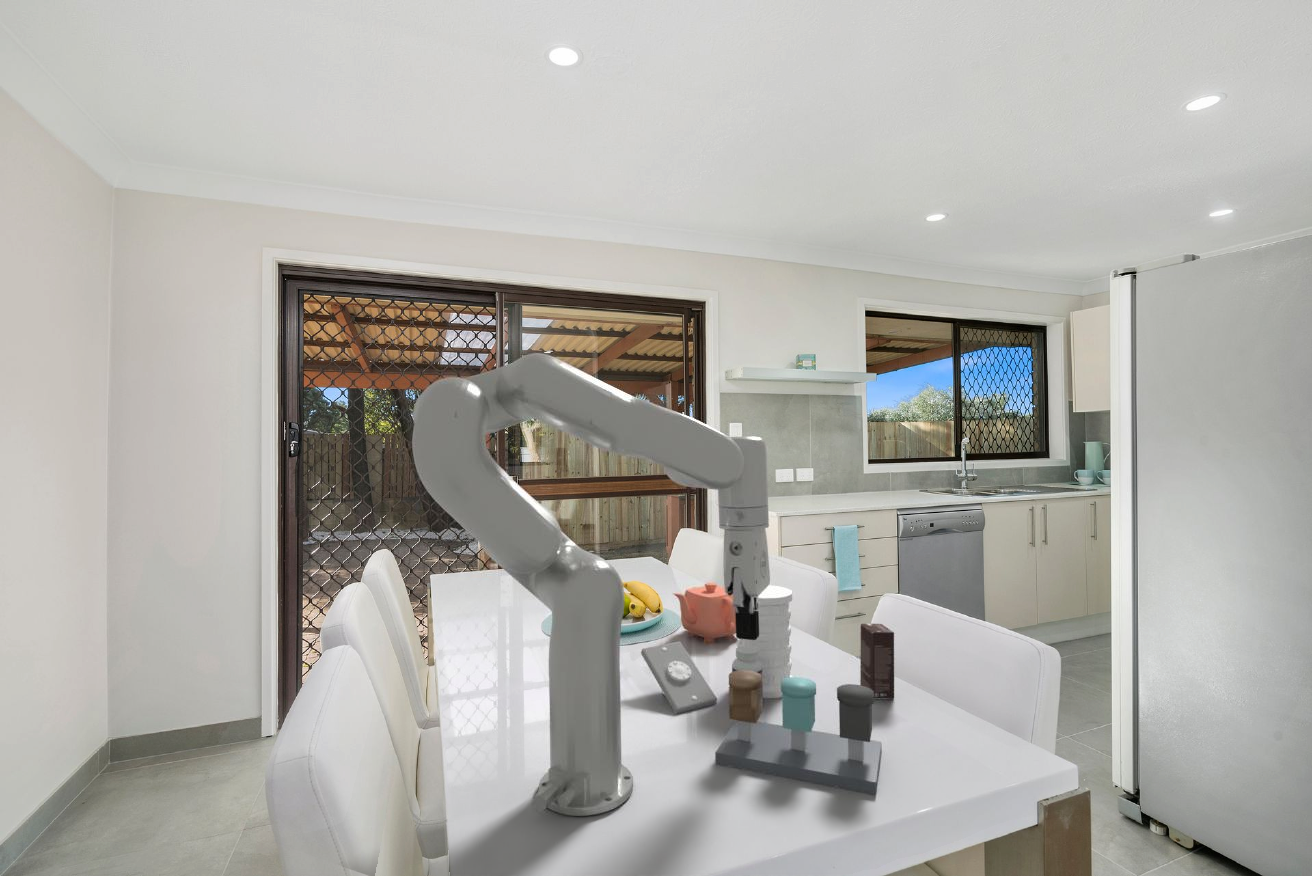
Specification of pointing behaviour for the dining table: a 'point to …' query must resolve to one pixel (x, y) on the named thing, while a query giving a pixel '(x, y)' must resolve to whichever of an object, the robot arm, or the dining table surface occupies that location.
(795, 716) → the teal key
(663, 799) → the dining table surface
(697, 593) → the teapot
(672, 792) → the dining table surface
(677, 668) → the light switch
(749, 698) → the walnut key
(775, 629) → the decorative container
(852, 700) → the dark grey round-topped block
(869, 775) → the panel
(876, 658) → the box
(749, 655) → the pill bottle
